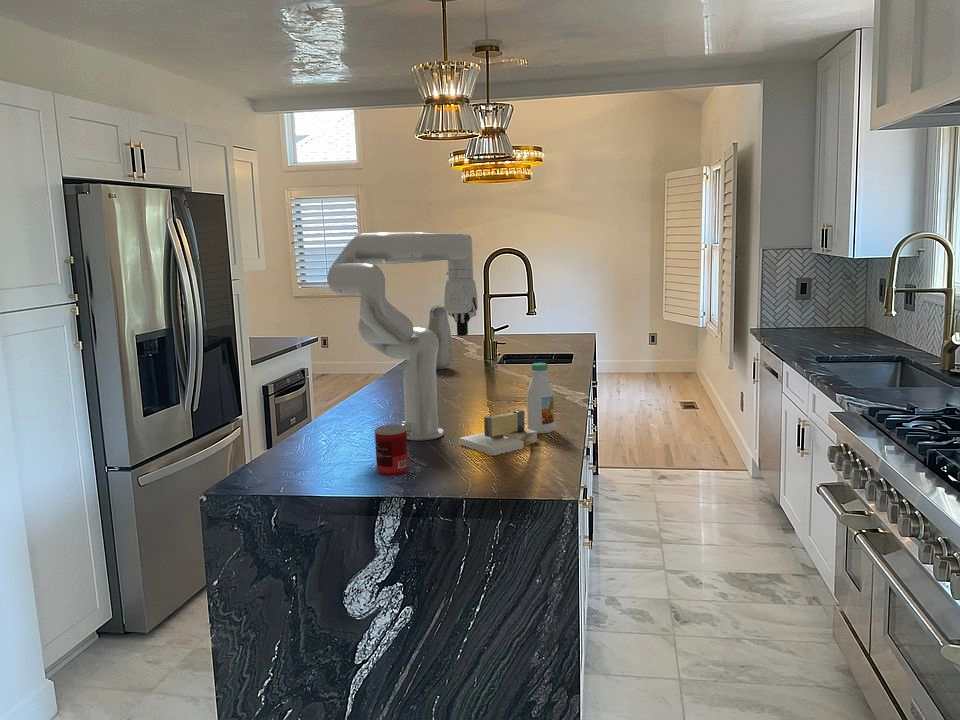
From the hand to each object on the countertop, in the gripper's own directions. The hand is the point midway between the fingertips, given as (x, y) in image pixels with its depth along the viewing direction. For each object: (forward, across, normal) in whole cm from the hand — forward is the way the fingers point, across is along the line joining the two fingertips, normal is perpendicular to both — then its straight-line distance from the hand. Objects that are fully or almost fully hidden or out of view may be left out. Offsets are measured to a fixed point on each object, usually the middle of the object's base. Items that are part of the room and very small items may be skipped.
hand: (462, 335), depth 244 cm
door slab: (+27, +26, -19) cm, 42 cm away
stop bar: (+24, +28, -15) cm, 40 cm away
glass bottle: (+27, -74, +68) cm, 104 cm away
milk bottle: (+27, +27, +3) cm, 38 cm away
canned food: (+27, +20, -51) cm, 61 cm away
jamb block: (+27, +29, -11) cm, 41 cm away
